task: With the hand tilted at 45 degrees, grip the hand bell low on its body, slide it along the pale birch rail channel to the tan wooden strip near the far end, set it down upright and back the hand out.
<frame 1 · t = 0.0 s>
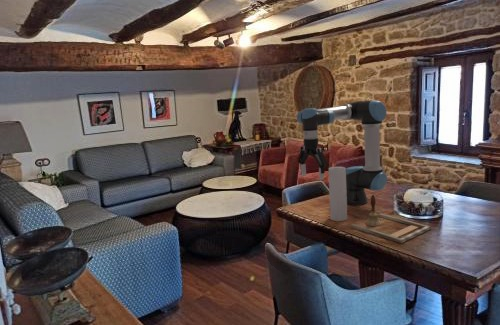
hand: (312, 177, 195), 28 cm above the table, tool pointing down, fingers open, 13 cm apart
cylinder container: (338, 218, 211), on the table
hand bell: (373, 223, 199), on the table
tan wooden strip: (403, 232, 184), resting in rail channel
rail channel: (389, 228, 191), on the table
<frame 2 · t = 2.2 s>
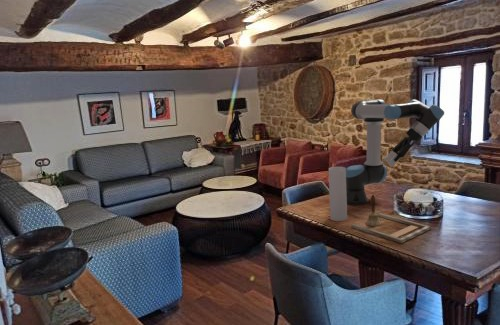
hand: (387, 163, 192), 33 cm above the table, tool tilted 45°, fingers open, 13 cm apart
nothing on the table moved.
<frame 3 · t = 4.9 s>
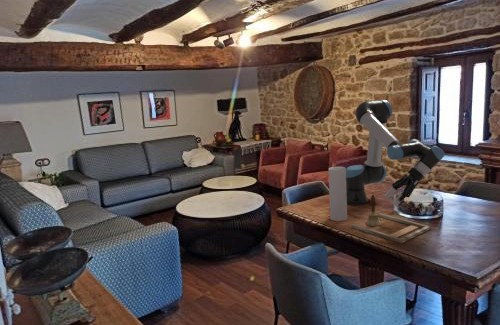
hand: (389, 201, 195), 12 cm above the table, tool tilted 45°, fingers open, 13 cm apart
nothing on the table moved.
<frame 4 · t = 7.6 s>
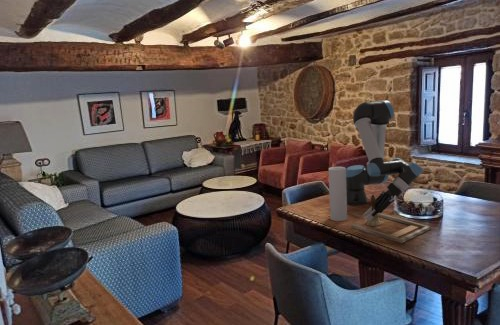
hand: (366, 218, 199), 3 cm above the table, tool tilted 45°, fingers closed on hand bell, 4 cm apart
hand bell: (373, 223, 199), on the table, touching gripper
everything else where it was.
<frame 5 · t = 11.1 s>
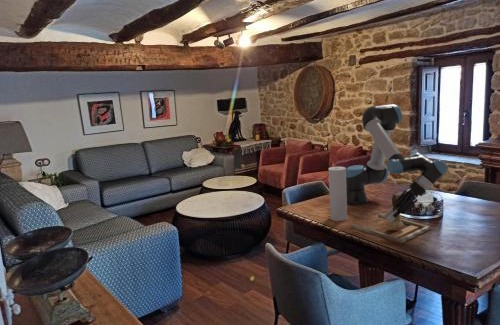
hand: (387, 219, 187), 6 cm above the table, tool tilted 45°, fingers closed on hand bell, 4 cm apart
hand bell: (394, 225, 187), point 3 cm above the table, touching gripper
everything else where it was.
when the fingers open (4 cm above the table, at t = 14.6 s): hand bell stays where it is, resting on tan wooden strip.
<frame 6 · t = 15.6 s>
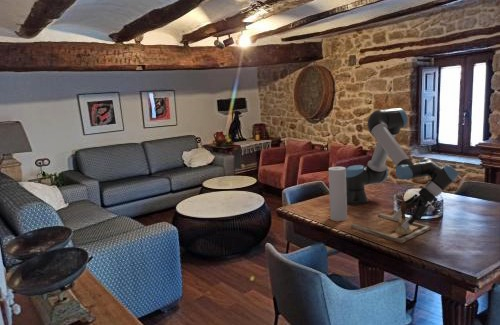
hand: (398, 222, 184), 5 cm above the table, tool tilted 45°, fingers open, 13 cm apart
hand bell: (403, 231, 184), resting on tan wooden strip
everything else where it was.
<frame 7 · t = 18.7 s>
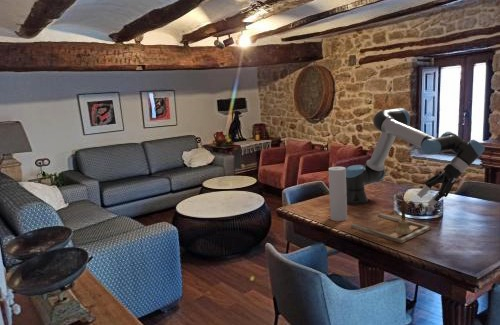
hand: (424, 200, 182), 16 cm above the table, tool tilted 45°, fingers open, 13 cm apart
nothing on the table moved.
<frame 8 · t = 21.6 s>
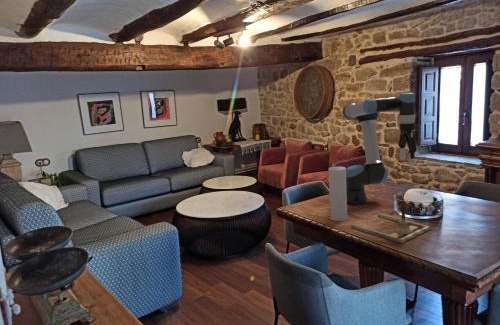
hand: (407, 162, 197), 32 cm above the table, tool pointing down, fingers open, 13 cm apart
nothing on the table moved.
at the end: hand bell 0.1 cm from the tan wooden strip (horizontally); hand bell tilted 0°; the gripper is holding nothing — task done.
